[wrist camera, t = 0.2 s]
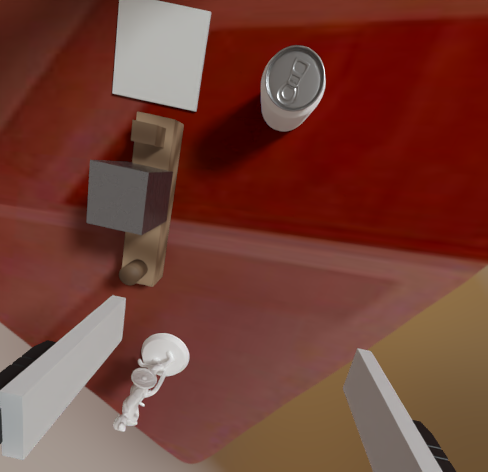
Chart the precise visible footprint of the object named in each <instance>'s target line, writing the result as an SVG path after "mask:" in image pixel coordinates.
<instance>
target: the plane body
mask: <svg viewBox="0 0 488 472" xmlns="http://www.w3.org/2000/svg"><path fill="white" fill-rule="evenodd" d="M183 127H184V124H182V123H180V122H178V121H176V120H174V119H170V118H165V117H160V116H156V115H151V114H147V113H142V112H137V119H136V120H133V123H132V133H131V141H134V149H133V160H132V163H136V164H141V165H145V166H150V167H154V168H159V169H163V170H168V171H172V172H173V177H172V184H171V192H170V199H169V206H168V213H167V221H166V222H164V223H163V224H161V225H159V226H157V227H155V228H154V229H152V230H150V231H148V232H147V233H145V234H143V235H138V234H134V233H129V232H125V241H124V251H123V262H122V269H121V270H120V271H119V278H120V280H121V281H122V282H123V283H124V284H126V285H134V284H136V283H138V284H143V285H147V286H151V287H153V286H154V285H155V284H156V283H157V282H158V281H159V279H160V278H161V277H162V275H163V268H164V261H165V254H166V247H167V240H168V233H169V226H170V219H171V212H172V205H173V198H174V191H175V183H176V176H177V169H178V162H179V155H180V148H181V141H182V134H183Z"/></svg>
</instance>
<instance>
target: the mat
mask: <svg viewBox="0 0 488 472" xmlns="http://www.w3.org/2000/svg"><path fill="white" fill-rule="evenodd" d="M210 18H211V12H210V11H205V10H200V9H195V8H191V7H186V6H181V5H177V4H172V3H167V2H162V1H158V0H119V10H118V23H117V37H116V50H115V64H114V77H113V90H112V93H113V94H116V95H121V96H125V97H130V98H134V99H139V100H144V101H148V102H153V103H157V104H162V105H167V106H171V107H176V108H181V109H185V110H190V111H194V112H196V111H197V104H198V97H199V91H200V84H201V78H202V71H203V64H204V58H205V51H206V44H207V38H208V31H209V25H210Z"/></svg>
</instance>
